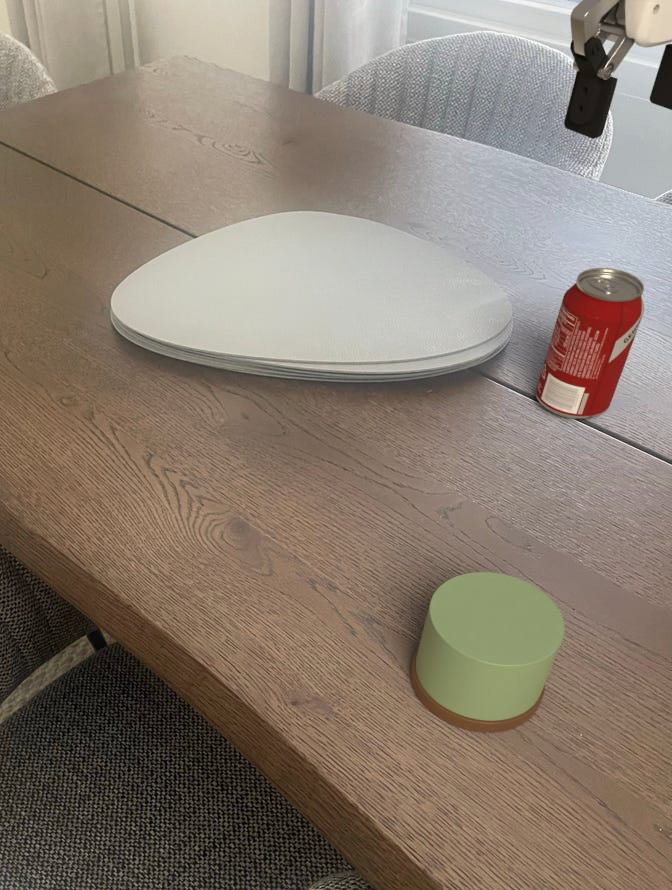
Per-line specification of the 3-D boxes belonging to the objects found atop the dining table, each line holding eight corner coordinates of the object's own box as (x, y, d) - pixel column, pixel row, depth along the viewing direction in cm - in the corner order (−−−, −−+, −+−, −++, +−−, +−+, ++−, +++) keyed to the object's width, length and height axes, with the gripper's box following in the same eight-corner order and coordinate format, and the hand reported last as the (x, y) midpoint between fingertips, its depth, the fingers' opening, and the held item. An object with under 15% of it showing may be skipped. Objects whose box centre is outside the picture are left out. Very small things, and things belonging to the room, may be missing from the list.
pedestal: (522, 633, 71) (545, 567, 66) (557, 731, 65) (586, 666, 60) (399, 636, 70) (414, 570, 66) (423, 734, 64) (442, 670, 60)
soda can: (573, 433, 88) (615, 309, 79) (518, 398, 92) (552, 277, 83) (622, 409, 90) (669, 288, 82) (567, 377, 94) (605, 257, 86)
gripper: (671, -149, 56) (586, 159, 69) (845, -175, 63) (738, 111, 75) (572, -165, 61) (508, 128, 73) (744, -188, 67) (659, 84, 79)
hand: (625, 119), depth 74 cm, fingers open, 9 cm apart
